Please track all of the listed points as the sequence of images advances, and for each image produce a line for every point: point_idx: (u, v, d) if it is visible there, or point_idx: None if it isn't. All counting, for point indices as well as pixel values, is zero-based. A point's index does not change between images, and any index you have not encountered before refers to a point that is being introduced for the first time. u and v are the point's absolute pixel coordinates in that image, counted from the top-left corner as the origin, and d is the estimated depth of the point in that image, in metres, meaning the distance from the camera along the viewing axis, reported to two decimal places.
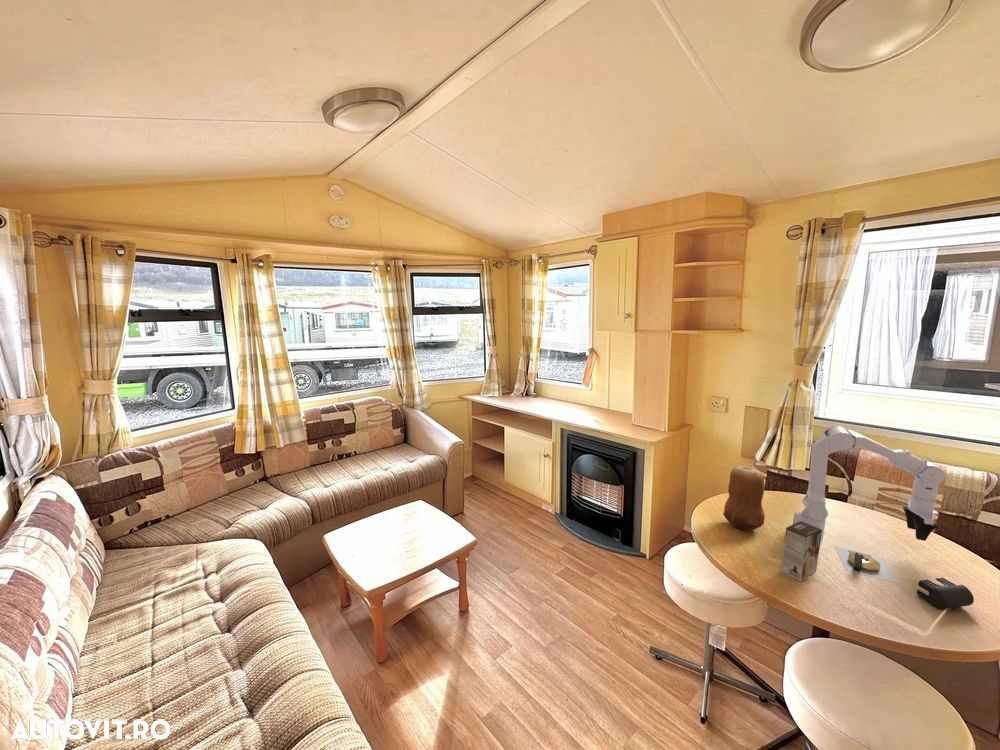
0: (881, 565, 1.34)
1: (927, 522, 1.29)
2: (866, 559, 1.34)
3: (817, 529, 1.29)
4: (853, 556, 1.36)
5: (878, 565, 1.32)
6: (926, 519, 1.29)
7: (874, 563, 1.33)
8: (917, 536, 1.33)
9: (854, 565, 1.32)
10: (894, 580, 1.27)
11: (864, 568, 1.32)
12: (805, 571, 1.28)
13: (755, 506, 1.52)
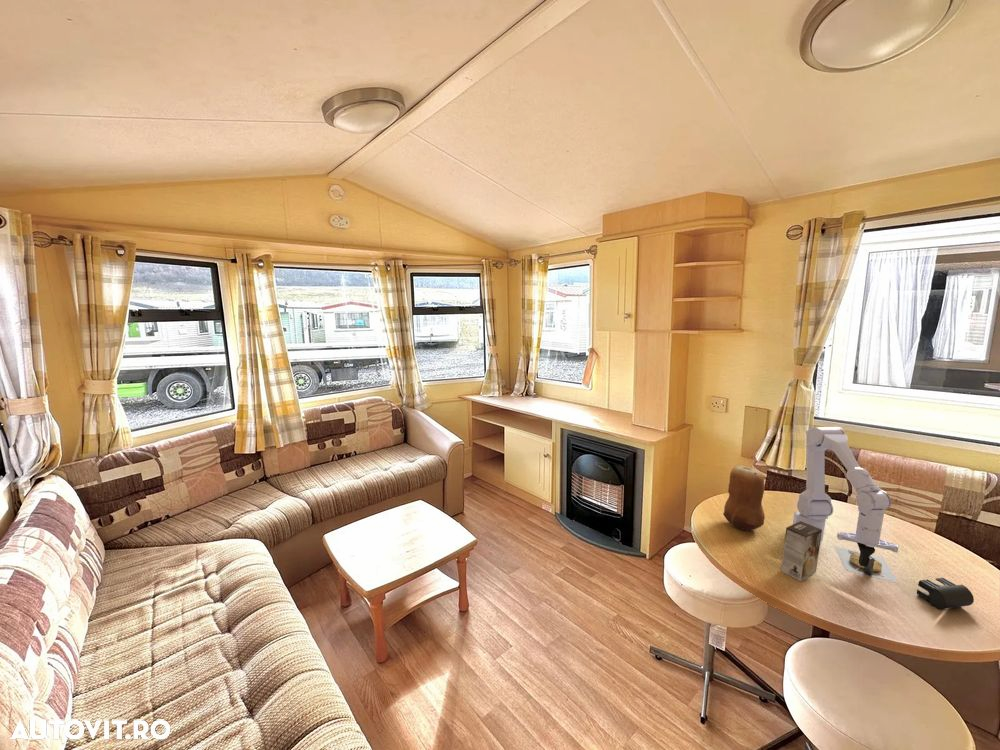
0: None
1: (837, 535, 1.33)
2: None
3: (817, 529, 1.29)
4: (855, 558, 1.35)
5: (879, 563, 1.33)
6: None
7: (875, 562, 1.33)
8: None
9: (866, 570, 1.29)
10: (894, 580, 1.27)
11: None
12: (805, 571, 1.28)
13: (755, 506, 1.52)
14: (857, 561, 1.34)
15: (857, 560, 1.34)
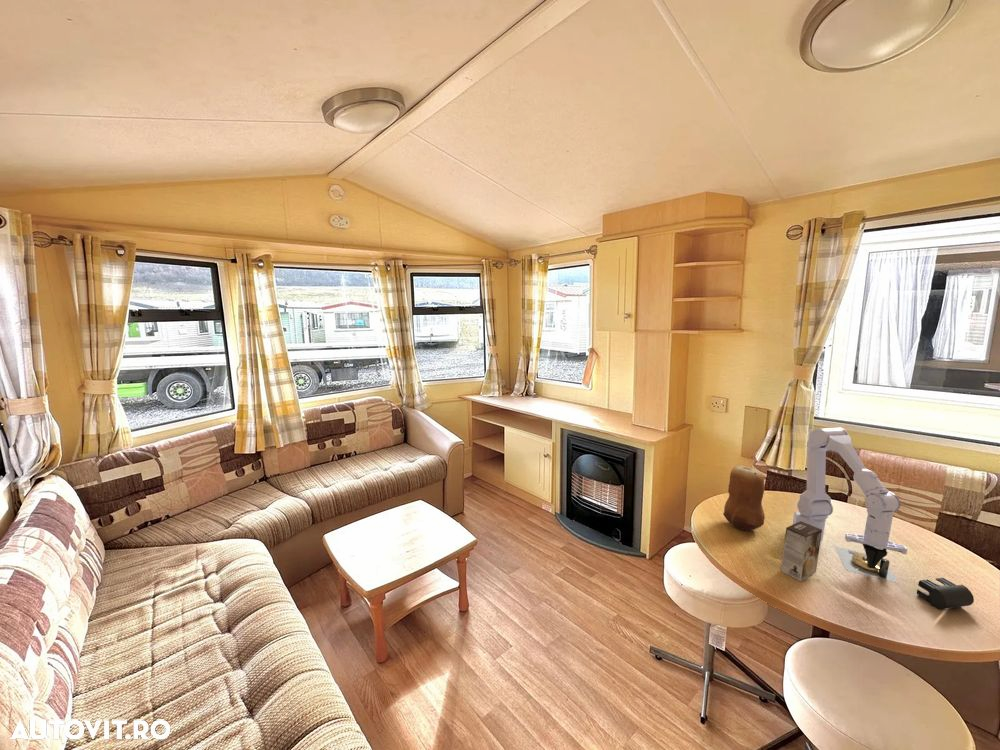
0: None
1: (845, 537, 1.33)
2: None
3: (817, 529, 1.29)
4: (861, 562, 1.33)
5: None
6: None
7: None
8: (867, 561, 1.31)
9: (884, 573, 1.28)
10: (894, 580, 1.27)
11: None
12: (805, 571, 1.28)
13: (755, 506, 1.52)
14: (866, 565, 1.32)
15: (864, 563, 1.33)
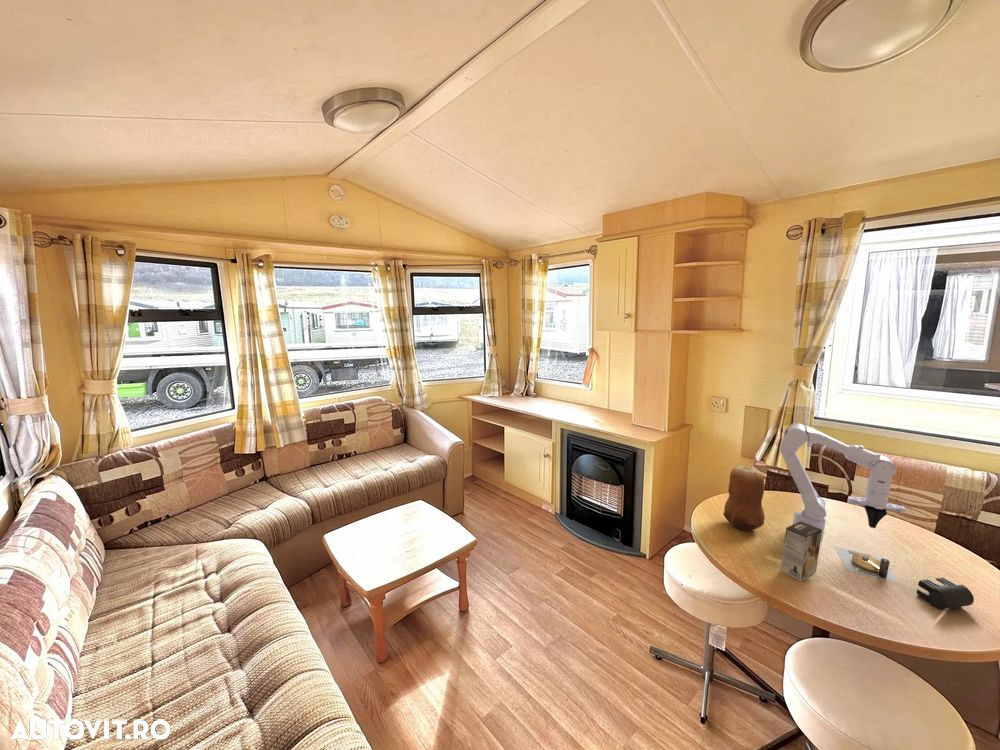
0: None
1: (848, 500, 1.43)
2: (868, 559, 1.34)
3: (817, 529, 1.29)
4: (861, 562, 1.33)
5: (877, 560, 1.34)
6: (848, 497, 1.43)
7: (873, 559, 1.35)
8: (868, 521, 1.42)
9: (884, 573, 1.28)
10: (894, 580, 1.27)
11: None
12: (805, 571, 1.28)
13: (755, 506, 1.52)
14: (866, 565, 1.32)
15: (864, 563, 1.33)
